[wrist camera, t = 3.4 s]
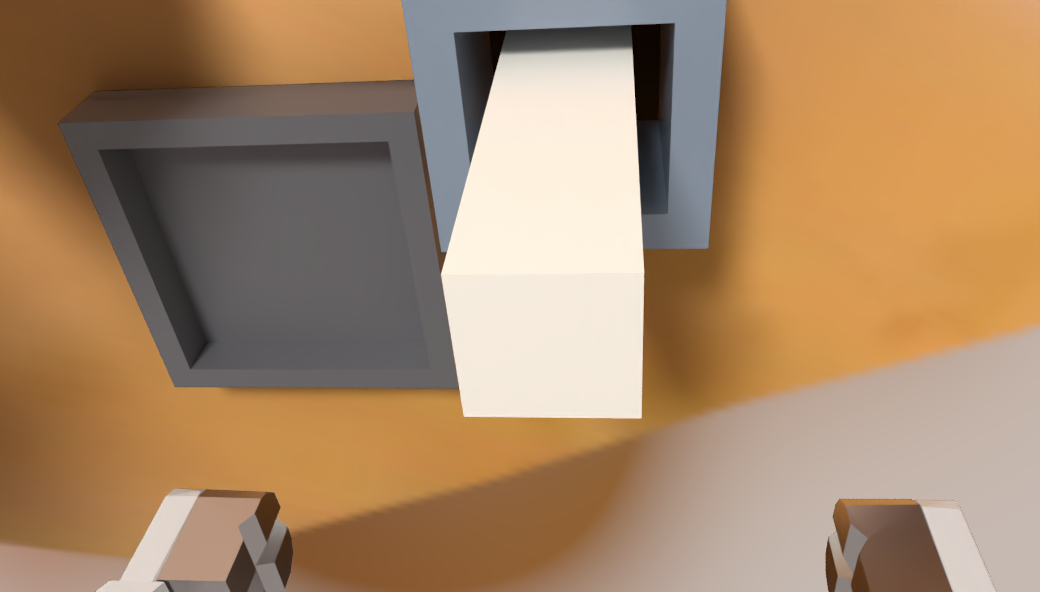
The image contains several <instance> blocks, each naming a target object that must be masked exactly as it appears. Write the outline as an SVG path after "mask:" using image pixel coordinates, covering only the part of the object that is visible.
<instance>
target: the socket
mask: <svg viewBox="0 0 1040 592" xmlns="http://www.w3.org/2000/svg"><path fill="white" fill-rule="evenodd" d="M726 2H727V0H402V7H403V13H404V19H405V26H406V32H407V38H408V44H409V51H410V57H411V63H412V70H413V76H414V82H415V89H416V95H417V101H418V108H419V114H420V120H421V126H422V133H423V139H424V145H425V152H426V158H427V164H428V171H429V177H430V183H431V190H432V196H433V202H434V209H435V215H436V221H437V227H438V234H439V240H440V246H441V252H447V251H448V247H449V243H450V239H451V236H452V232H453V228H454V224H455V221H456V217H457V213H458V210H459V206H460V202H461V198H462V195H463V191H464V187H465V183H466V180H467V176H468V172H469V169H470V165H471V161H472V157H473V154H474V150H475V146H476V142H477V139H478V135H479V131H480V128H481V124H482V120H483V116H484V113H485V109H486V105H487V102H488V98H489V94H490V90H491V87H492V83H493V79H494V78H493V68H492V58H491V48H490V38H489V31H500V30H523V29H547V28H570V27H593V26H617V25H640V24H661V41H660V77H659V113H658V120H637V121H636V126H637V145H638V164H639V184H640V203H641V222H642V241H643V249H708V245H709V231H710V218H711V204H712V191H713V177H714V164H715V150H716V137H717V123H718V110H719V96H720V83H721V70H722V56H723V43H724V29H725V16H726Z"/></svg>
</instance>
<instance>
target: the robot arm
mask: <svg viewBox="0 0 1040 592" xmlns="http://www.w3.org/2000/svg"><path fill="white" fill-rule="evenodd" d="M280 508H281V507H280V505H279V502H278V500H277V498H276V495H275V493H273V492H258V491H234V490H210V489H174V490H173V491H171V492H170V493H169V494H168V495H167V496H166V497H165V498H164V500H163V502H162V504H161V505H160V507H159V509H158V511H157V513H156V515H155V516H154V518H153V520H152V522H151V524H150V526H149V527H148V529H147V531H146V533H145V535H144V537H143V538H142V540H141V542H140V544H139V546H138V547H137V549H136V551H135V553H134V555H133V557H132V558H131V560H130V562H129V564H128V566H127V568H126V570H125V572H124V573H123V575H122V577H121V579H120V580H110V581H109V582H107V583H106V584H105V585H103V586H102V587H101V588H99V589H98V590H97V591H95V592H282V591H283V590H284V589H285V587H286V584H287V581H288V578H289V575H290V572H291V565H292V557H293V547H292V538H291V535H290V532H289V529H288V527H287V526H286V525H285V524H283V523H282V522H281V521H279V520H278V519H277V515H278V513H279V510H280ZM833 519H834V523H835V527H836V532H835V533H833V534H832V535H831V536H829V537H828V542H827V548H826V578H827V585H828V591H829V592H997V591H996V589H995V586H994V584H993V582H992V579H991V577H990V575H989V572H988V570H987V568H986V565H985V563H984V561H983V558H982V556H981V554H980V552H979V549H978V547H977V545H976V542H975V540H974V538H973V536H972V533H971V531H970V529H969V526H968V524H967V522H966V519H965V517H964V515H963V512H962V510H961V508H960V506H959V505H958V504H957V503H956V502H955V501H954V500H912V499H839V500H838V502H837V503H836V505H835V509H834V514H833Z"/></svg>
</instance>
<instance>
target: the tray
mask: <svg viewBox="0 0 1040 592" xmlns="http://www.w3.org/2000/svg"><path fill="white" fill-rule="evenodd" d="M58 125H59V127H60V129H61V131H62V134H63V136H64V138H65V140H66V143H67V145H68V147H69V149H70V152H71V154H72V156H73V158H74V161H75V163H76V165H77V168H78V170H79V172H80V174H81V177H82V179H83V181H84V183H85V186H86V188H87V190H88V192H89V195H90V197H91V199H92V201H93V204H94V206H95V208H96V210H97V213H98V215H99V217H100V219H101V222H102V224H103V226H104V228H105V231H106V233H107V235H108V237H109V240H110V242H111V244H112V246H113V249H114V251H115V253H116V255H117V258H118V260H119V262H120V265H121V267H122V269H123V271H124V274H125V276H126V278H127V280H128V283H129V285H130V287H131V289H132V292H133V294H134V296H135V298H136V301H137V303H138V305H139V307H140V310H141V312H142V314H143V316H144V319H145V321H146V323H147V325H148V328H149V330H150V332H151V334H152V337H153V339H154V341H155V343H156V346H157V348H158V350H159V352H160V355H161V357H162V359H163V361H164V364H165V366H166V368H167V371H168V373H169V375H170V377H171V380H172V382H173V384H174V386H175V387H248V388H446V389H459V383H458V377H457V371H456V364H455V358H454V352H453V346H452V340H451V334H450V327H449V321H448V315H447V309H446V303H445V297H444V290H443V284H442V278H441V273H442V269H443V265H444V262H445V258H446V254H447V252H441V246H440V240H439V234H438V227H437V221H436V215H435V209H434V202H433V196H432V190H431V183H430V177H429V171H428V164H427V158H426V152H425V145H424V139H423V133H422V126H421V120H420V114H419V108H418V101H417V95H416V89H415V82H414V80H395V81H367V82H340V83H313V84H285V85H258V86H231V87H203V88H176V89H149V90H122V91H94V92H93V93H92V94H91V95H90V96H89V97H87V98H86V99H85V100H84V101H83V102H82V103H81V104H79V105H78V106H77V107H76V108H75V109H74V110H73V111H71V112H70V113H69V114H68V115H67V116H66V117H65V118H63V119H62V120H61V121H60V122H59V123H58Z"/></svg>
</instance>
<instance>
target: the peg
mask: <svg viewBox="0 0 1040 592" xmlns="http://www.w3.org/2000/svg"><path fill="white" fill-rule="evenodd" d="M441 278H442V284H443V290H444V297H445V303H446V309H447V315H448V321H449V327H450V334H451V340H452V346H453V352H454V358H455V364H456V371H457V377H458V383H459V389H460V395H461V402H462V408H463V414H464V417H554V418H641V414H642V361H643V308H644V260H643V241H642V222H641V203H640V184H639V164H638V145H637V126H636V107H635V88H634V69H633V49H632V30H631V25H617V26H593V27H570V28H547V29H523V30H507V31H506V34H505V38H504V42H503V46H502V49H501V53H500V57H499V61H498V64H497V68H496V72H495V75H494V79H493V83H492V87H491V90H490V94H489V98H488V102H487V105H486V109H485V113H484V116H483V120H482V124H481V128H480V131H479V135H478V139H477V142H476V146H475V150H474V154H473V157H472V161H471V165H470V169H469V172H468V176H467V180H466V183H465V187H464V191H463V195H462V198H461V202H460V206H459V210H458V213H457V217H456V221H455V224H454V228H453V232H452V236H451V239H450V243H449V247H448V251H447V254H446V258H445V262H444V265H443V269H442V273H441Z"/></svg>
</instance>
